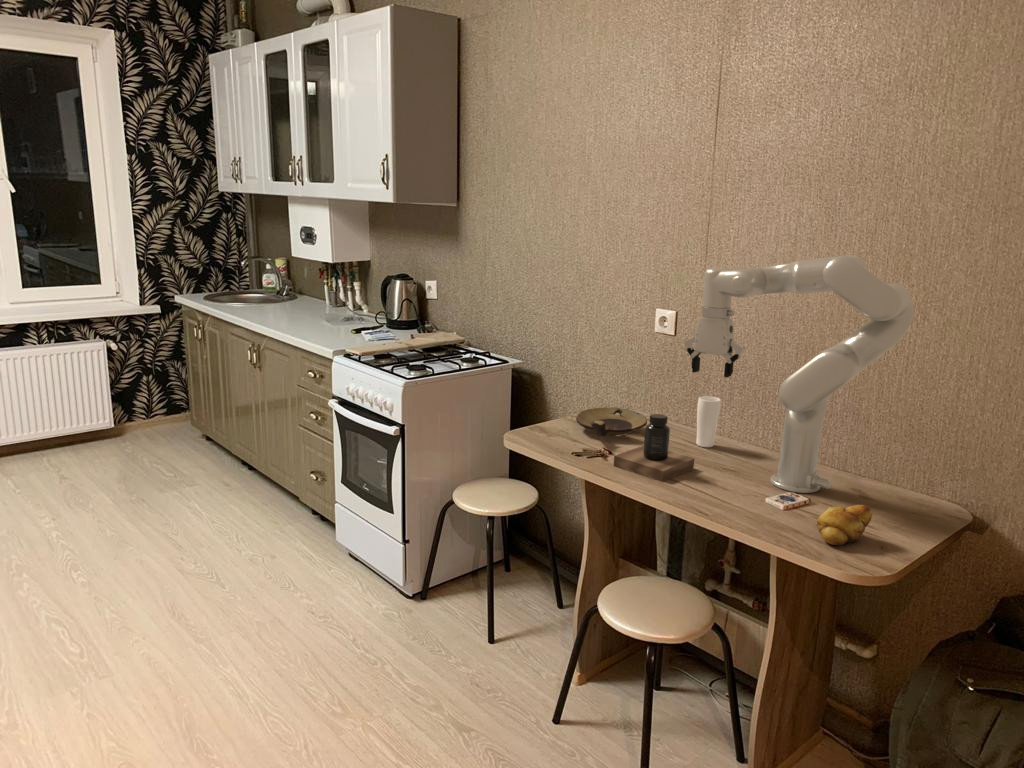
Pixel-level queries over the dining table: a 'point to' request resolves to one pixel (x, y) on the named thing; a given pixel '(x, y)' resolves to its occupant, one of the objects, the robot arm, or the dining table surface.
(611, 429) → the olive brown shallow dish
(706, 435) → the drinking glass
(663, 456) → the supplement bottle
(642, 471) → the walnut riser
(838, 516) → the bread roll
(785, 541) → the dining table surface
